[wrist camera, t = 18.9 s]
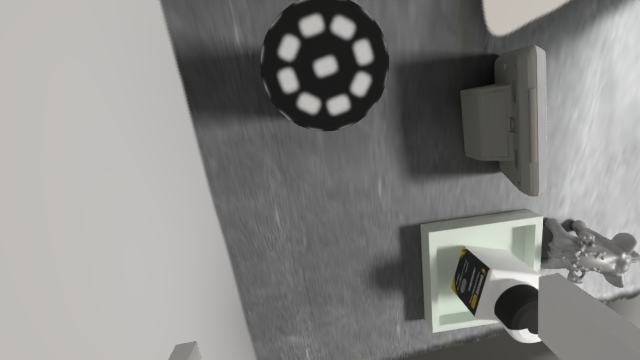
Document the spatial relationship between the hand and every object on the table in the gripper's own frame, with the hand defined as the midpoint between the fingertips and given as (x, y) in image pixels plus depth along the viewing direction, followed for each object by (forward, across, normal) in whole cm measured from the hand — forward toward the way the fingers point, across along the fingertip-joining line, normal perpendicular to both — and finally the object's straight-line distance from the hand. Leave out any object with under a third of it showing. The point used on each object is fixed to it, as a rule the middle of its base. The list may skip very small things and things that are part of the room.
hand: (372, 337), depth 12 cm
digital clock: (+32, +24, +2) cm, 40 cm away
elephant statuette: (+32, +35, -18) cm, 51 cm away
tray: (+31, +20, -20) cm, 42 cm away
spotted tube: (+32, +1, +10) cm, 33 cm away
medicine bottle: (+30, +20, -19) cm, 41 cm away
